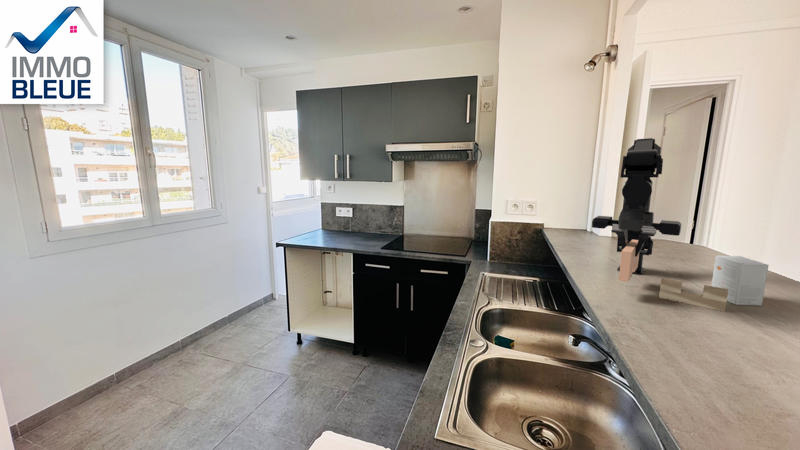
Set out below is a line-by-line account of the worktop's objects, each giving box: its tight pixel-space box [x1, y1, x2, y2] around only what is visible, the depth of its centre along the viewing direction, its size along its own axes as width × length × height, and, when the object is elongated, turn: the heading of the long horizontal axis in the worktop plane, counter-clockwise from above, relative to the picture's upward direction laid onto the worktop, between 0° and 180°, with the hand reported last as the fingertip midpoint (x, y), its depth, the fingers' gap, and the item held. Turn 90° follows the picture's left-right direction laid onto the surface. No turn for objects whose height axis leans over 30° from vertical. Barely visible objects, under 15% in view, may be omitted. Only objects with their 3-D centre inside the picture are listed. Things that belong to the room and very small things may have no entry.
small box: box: [711, 255, 770, 306], centre depth 78 cm, size 8×6×10 cm
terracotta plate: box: [618, 240, 639, 283], centre depth 84 cm, size 16×2×8 cm, turn 136°
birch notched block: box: [658, 277, 728, 312], centre depth 77 cm, size 2×12×5 cm, turn 45°
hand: (630, 255), depth 84 cm, fingers closed on terracotta plate, 2 cm apart
